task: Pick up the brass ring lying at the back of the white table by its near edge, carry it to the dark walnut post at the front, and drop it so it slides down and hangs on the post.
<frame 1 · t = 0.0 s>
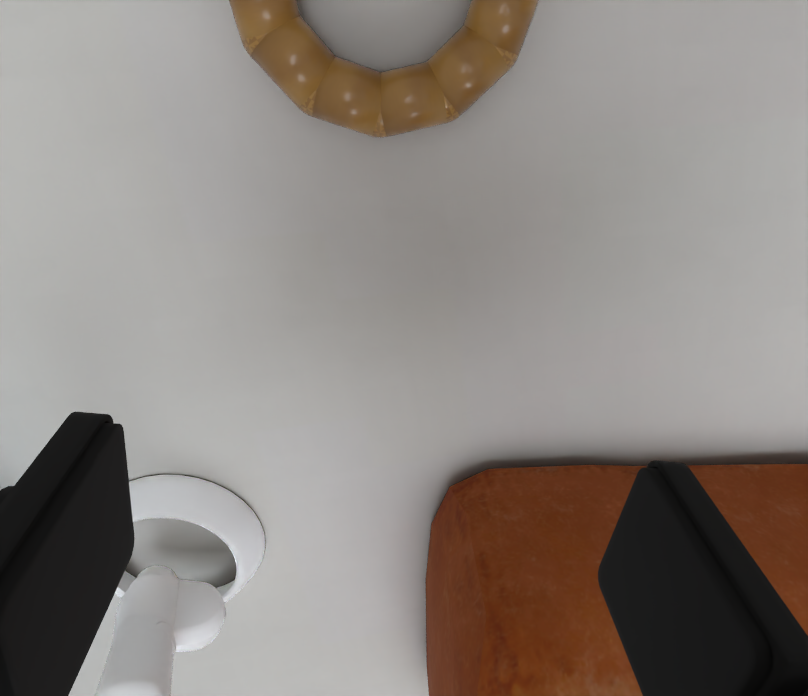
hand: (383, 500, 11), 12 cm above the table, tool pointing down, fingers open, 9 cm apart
hook: (182, 535, 28), on the table
bread: (662, 580, 31), on the table
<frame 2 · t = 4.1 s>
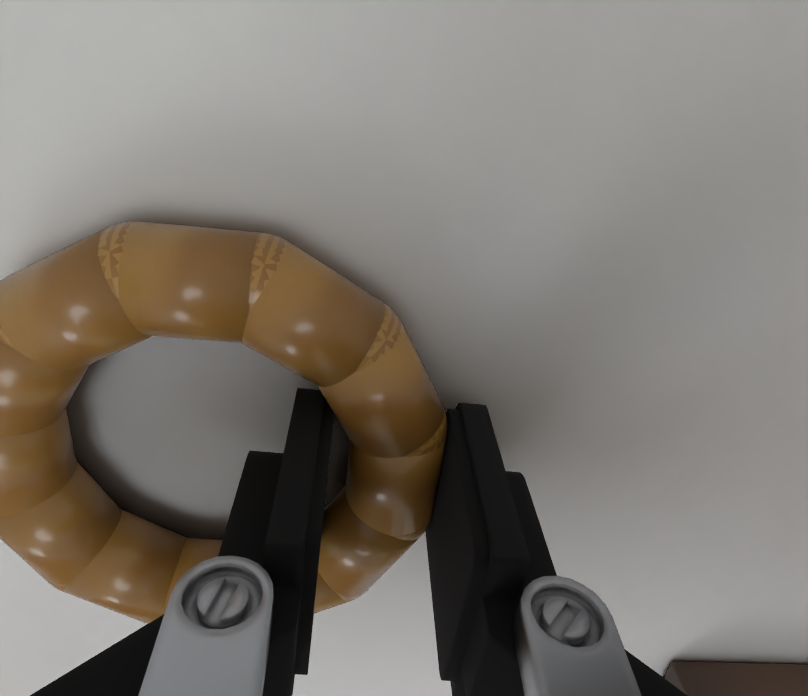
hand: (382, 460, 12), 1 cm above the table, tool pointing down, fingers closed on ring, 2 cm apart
ring: (210, 455, 11), point 1 cm above the table, touching gripper
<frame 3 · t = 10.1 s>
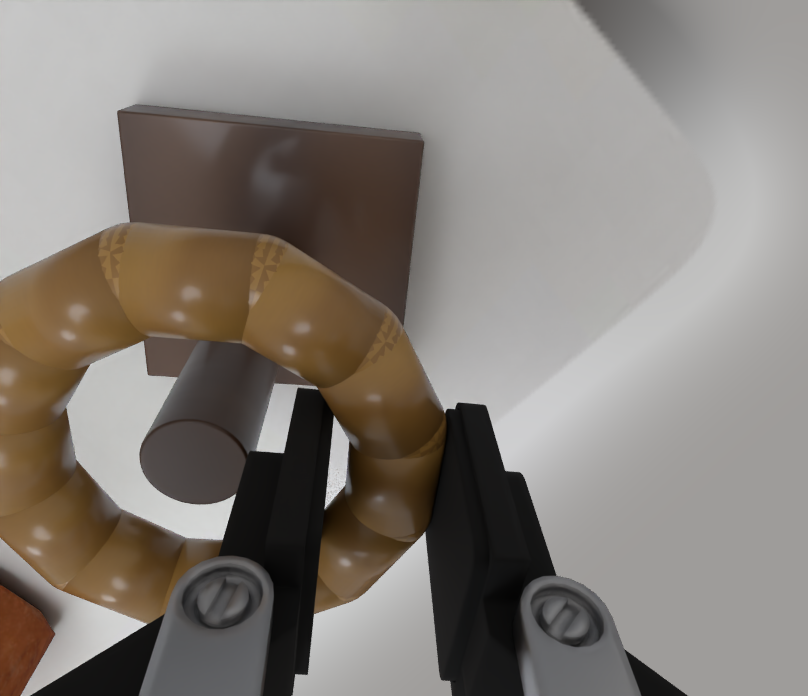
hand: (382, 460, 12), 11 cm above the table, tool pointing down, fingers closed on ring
ring: (209, 455, 11), point 11 cm above the table, touching gripper
stand: (280, 253, 21), on the table
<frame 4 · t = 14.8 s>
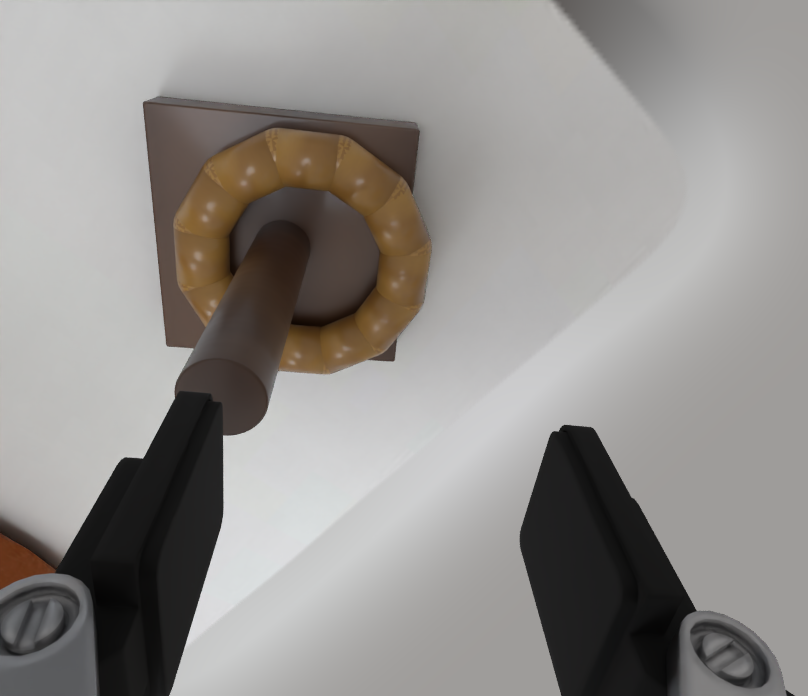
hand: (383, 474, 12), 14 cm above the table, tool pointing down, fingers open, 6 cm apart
ring: (304, 262, 21), point 2 cm above the table, touching stand
stand: (288, 234, 23), on the table
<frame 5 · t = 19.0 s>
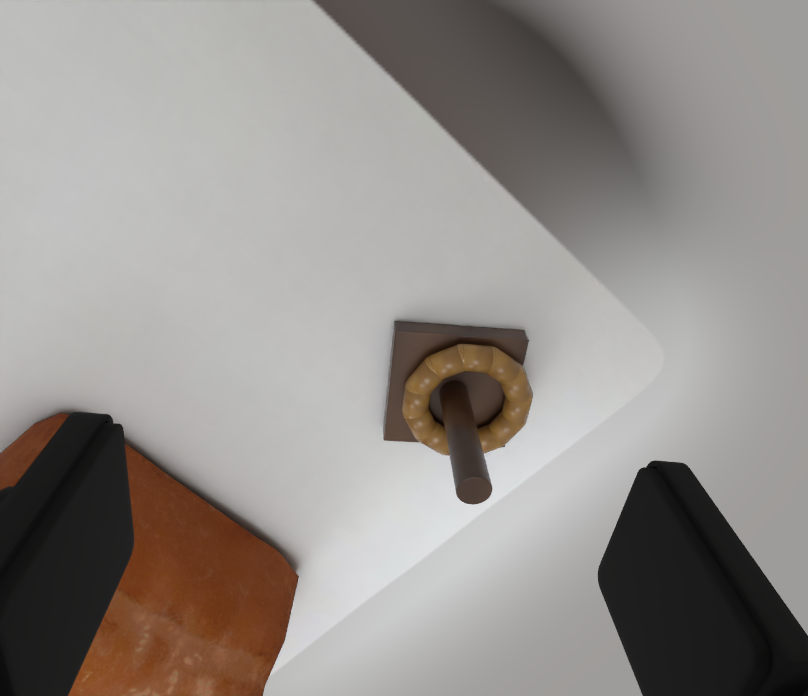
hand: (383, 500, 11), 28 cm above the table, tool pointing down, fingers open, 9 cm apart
ring: (467, 402, 41), point 2 cm above the table, touching stand
bread: (134, 540, 49), on the table
stand: (450, 381, 43), on the table
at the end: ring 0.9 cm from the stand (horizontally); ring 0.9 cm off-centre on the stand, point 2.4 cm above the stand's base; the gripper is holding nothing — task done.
